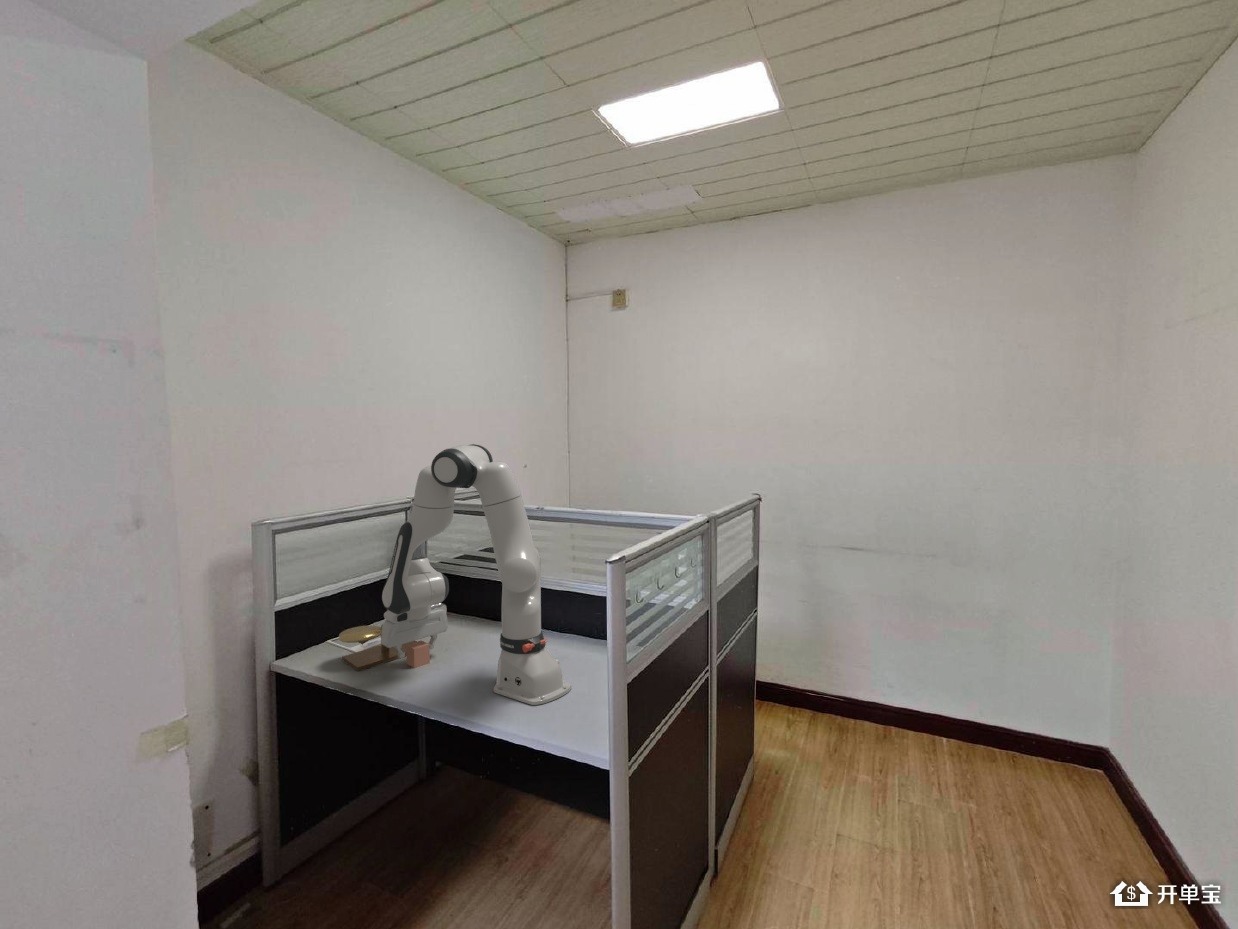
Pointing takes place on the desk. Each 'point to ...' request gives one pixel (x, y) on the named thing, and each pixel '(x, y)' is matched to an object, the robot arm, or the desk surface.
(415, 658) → the block
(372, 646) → the photo frame
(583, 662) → the desk surface
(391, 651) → the balance
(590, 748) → the desk surface
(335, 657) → the desk surface
